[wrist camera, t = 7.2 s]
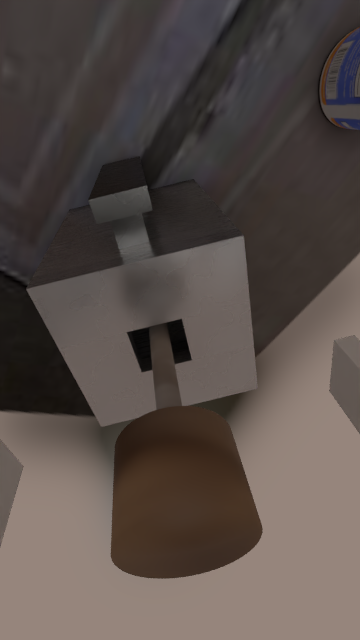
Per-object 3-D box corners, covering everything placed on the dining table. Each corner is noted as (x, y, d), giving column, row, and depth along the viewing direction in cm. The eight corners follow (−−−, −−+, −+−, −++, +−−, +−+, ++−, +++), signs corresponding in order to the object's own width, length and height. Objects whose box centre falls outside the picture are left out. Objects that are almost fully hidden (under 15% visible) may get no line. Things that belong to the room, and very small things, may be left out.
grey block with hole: (110, 313, 28) (101, 426, 18) (55, 173, 22) (-5, 232, 12) (211, 288, 28) (257, 388, 18) (187, 141, 22) (238, 172, 12)
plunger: (119, 313, 25) (107, 612, 10) (89, 232, 22) (2, 519, 7) (201, 293, 25) (307, 563, 10) (185, 209, 22) (315, 442, 7)
